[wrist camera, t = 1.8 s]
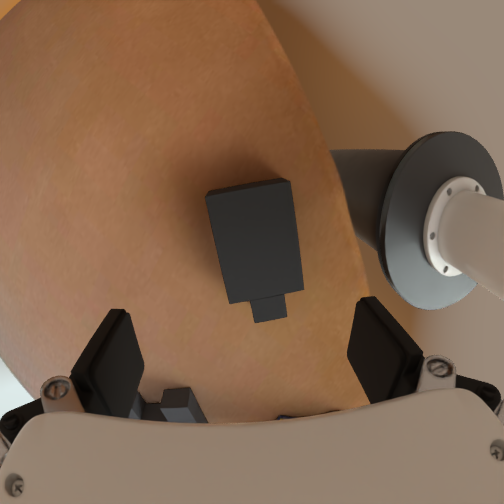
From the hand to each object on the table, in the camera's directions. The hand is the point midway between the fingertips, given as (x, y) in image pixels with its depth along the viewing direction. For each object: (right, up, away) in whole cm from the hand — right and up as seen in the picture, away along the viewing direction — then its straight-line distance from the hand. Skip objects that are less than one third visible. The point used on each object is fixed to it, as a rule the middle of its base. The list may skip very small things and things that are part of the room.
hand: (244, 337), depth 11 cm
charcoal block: (-13, -20, +24) cm, 34 cm away
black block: (+1, +4, +17) cm, 17 cm away
